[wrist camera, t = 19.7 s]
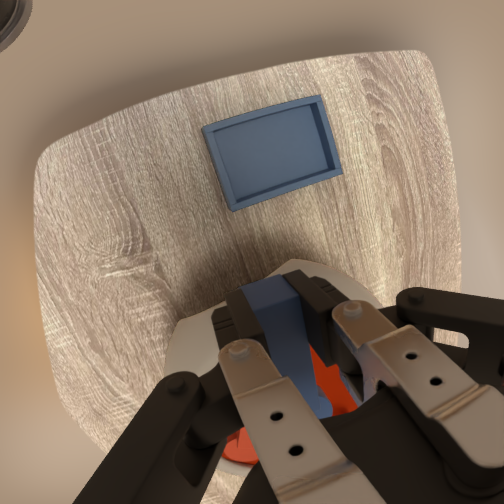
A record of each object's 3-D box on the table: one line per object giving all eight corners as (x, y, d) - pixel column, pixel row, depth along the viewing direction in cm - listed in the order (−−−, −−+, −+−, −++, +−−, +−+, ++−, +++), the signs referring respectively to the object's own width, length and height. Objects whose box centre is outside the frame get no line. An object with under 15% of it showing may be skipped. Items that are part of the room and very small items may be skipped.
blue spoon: (214, 293, 13) (223, 320, 10) (301, 265, 13) (324, 285, 11) (265, 438, 16) (277, 467, 14) (326, 415, 16) (343, 441, 14)
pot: (307, 398, 48) (355, 480, 31) (152, 384, 41) (152, 489, 24) (364, 257, 43) (455, 311, 26) (187, 214, 36) (197, 264, 19)
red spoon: (232, 374, 22) (232, 394, 20) (281, 377, 23) (285, 397, 20) (222, 450, 25) (222, 469, 23) (262, 452, 25) (264, 470, 23)
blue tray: (201, 128, 33) (202, 126, 31) (311, 97, 35) (320, 94, 33) (228, 209, 37) (232, 212, 34) (333, 172, 38) (343, 173, 36)
